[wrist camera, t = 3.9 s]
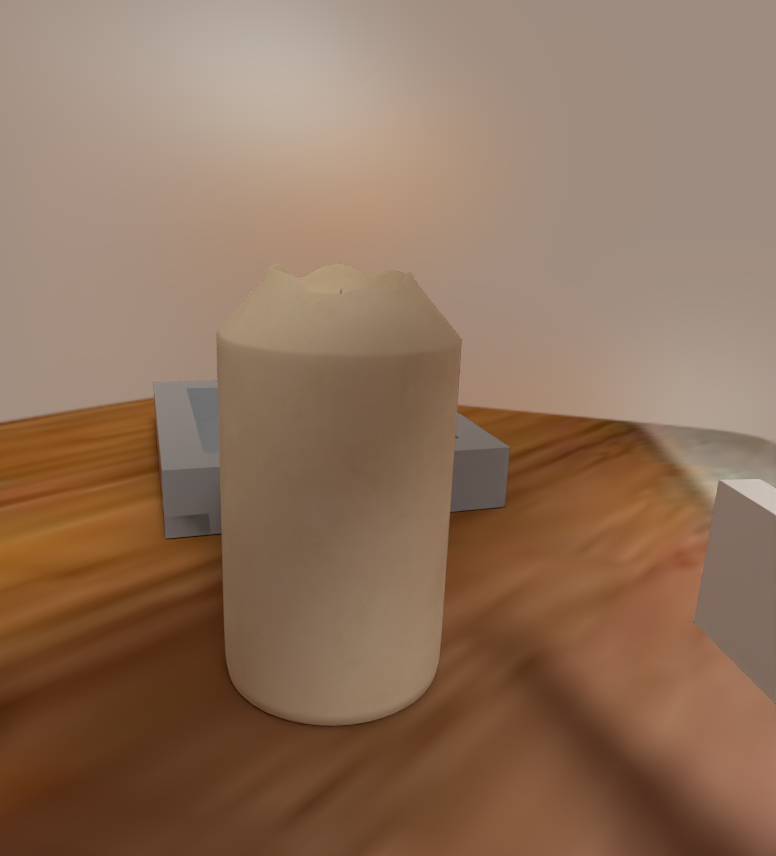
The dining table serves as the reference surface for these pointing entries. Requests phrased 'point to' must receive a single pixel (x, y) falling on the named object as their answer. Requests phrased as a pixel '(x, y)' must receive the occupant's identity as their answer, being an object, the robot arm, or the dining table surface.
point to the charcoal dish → (200, 460)
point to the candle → (335, 491)
